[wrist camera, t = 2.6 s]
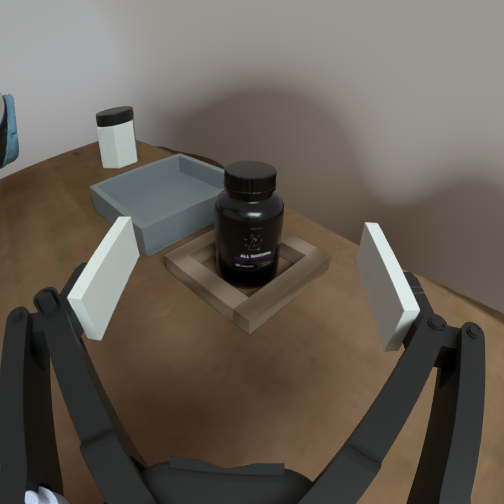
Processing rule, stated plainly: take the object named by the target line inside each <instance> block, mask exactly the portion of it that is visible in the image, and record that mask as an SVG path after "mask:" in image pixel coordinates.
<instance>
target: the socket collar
mask: <svg viewBox="0 0 504 504" xmlns="http://www.w3.org/2000/svg"><path fill="white" fill-rule="evenodd" d="M215 255H216V251H215V229H213V230H211V231H209V232H207V233H205V234H203V235H201V236H199V237H197V238H196V239H194V240H192V241H190V242H188V243H186V244H184V245H182V246H180V247H178V248H176V249H175V250H173V251H171V252H169V253H167V254H165V255H164V258H165V263H166V269H167V270H168V271H169V272H171V273H172V274H173V275H174V276H175V277H177V278H178V279H179V280H180V281H181V282H183V283H184V284H185V285H186V286H187V287H189V288H190V289H191V290H192V291H194V292H195V293H196V294H197V295H198V296H200V297H201V298H202V299H203V300H205V301H206V302H207V303H208V304H210V305H211V306H212V307H213V308H215V309H216V310H217V311H218V312H220V313H221V314H222V315H223V316H225V317H226V318H227V319H229V320H230V321H231V322H232V323H234V324H235V325H236V326H238V327H239V328H240V329H242V330H243V331H244V332H245V333H247V334H248V335H250V334H251V333H252V332H254V331H255V330H256V329H257V328H259V327H260V326H261V325H262V324H264V323H265V322H266V321H267V320H269V319H270V318H271V317H272V316H273V315H275V314H276V313H277V312H278V311H280V310H281V309H282V308H283V307H284V306H286V305H287V304H288V303H289V302H290V301H292V300H293V299H294V298H295V297H296V296H297V295H299V294H300V293H301V292H302V291H303V290H305V289H306V288H307V287H308V286H309V285H310V284H312V283H313V282H314V281H315V280H316V279H317V278H318V277H320V276H321V275H322V274H323V273H324V272H325V271H326V270H328V267H329V263H330V258H331V255H330V254H328V253H326V252H324V251H322V250H320V249H318V248H316V247H314V246H312V245H310V244H308V243H307V242H305V241H303V240H301V239H299V238H297V237H295V236H293V235H291V234H289V233H287V232H285V231H283V230H282V236H281V245H280V254H279V255H280V256H281V257H283V258H285V259H287V260H289V261H290V262H292V263H294V265H293V266H291V267H290V268H289V269H287V270H286V271H285V272H283V273H282V274H281V275H279V276H278V277H277V278H275V279H274V280H272V281H271V282H270V283H268V284H267V285H266V286H264V287H263V288H262V289H260V290H259V291H257V292H256V293H255V294H253V295H252V296H251V297H249V298H248V297H247V296H246V295H244V294H243V293H241V292H240V291H238V290H237V289H236V288H234V287H233V286H231V285H230V284H228V283H227V282H226V281H224V280H223V279H221V278H220V277H219V276H217V275H216V274H214V273H213V272H212V271H210V270H209V269H207V268H206V267H205V266H203V265H202V264H201V263H203V262H204V261H206V260H208V259H210V258H211V257H213V256H215Z"/></svg>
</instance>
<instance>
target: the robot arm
mask: <svg viewBox="0 0 504 504" xmlns="http://www.w3.org/2000/svg"><path fill="white" fill-rule="evenodd" d="M18 154H19V145H18V137H17V127H16V117H15V107H14V99H13V96H12V95H10V94H8V95H1V93H0V169H1V168H3V167H4V166H5V165H7V164H9V163H11V162H13V161H15V160H16V159H17V157H18ZM138 257H139V251H138V247H137V243H136V238H135V234H134V230H133V225H132V220H131V217H118V219H117V220H116V222H115V223H114V225H113V226H112V227H111V229H110V230H109V232H108V233H107V235H106V236H105V238H104V239H103V241H102V242H101V244H100V245H99V247H98V248H97V250H96V251H95V253H94V254H93V256H92V257H91V259H90V261H89V262H88V263H82V264H81V265H80V266H78V267H77V268H76V269H75V271H74V272H73V274H72V275H71V277H70V278H69V280H68V283H66V285H65V286H64V288H63V290H62V291H61V293H60V295H59V294H58V292H57V290H56V289H55V288H52V287H48V288H44V289H42V290H41V291H39V292H38V293H37V294H36V295H35V297H34V299H33V303H34V305H35V307H36V309H37V311H38V312H36V313H29V312H28V310H27V309H26V308H25V307H17V308H15V309H14V310H12V311H11V312H10V314H9V315H8V318H7V322H6V329H5V335H4V342H3V350H2V359H1V369H0V466H1V469H0V504H70V503H69V502H68V501H67V499H66V498H65V497H64V495H63V482H62V476H61V470H60V465H59V459H58V453H57V446H56V439H55V431H54V422H53V412H52V399H51V381H50V357H51V360H52V364H53V367H54V370H55V373H56V377H57V380H58V383H59V386H60V389H61V392H62V395H63V398H64V400H65V403H66V406H67V409H68V411H69V414H70V416H71V419H72V422H73V424H74V426H75V429H76V431H77V434H78V436H79V438H80V441H81V446H80V451H81V453H82V456H83V458H84V460H85V462H86V464H87V466H88V468H89V470H90V473H91V474H92V476H93V478H94V480H95V482H96V484H97V486H98V488H99V490H100V492H101V493H102V495H103V497H104V499H105V501H106V502H105V503H103V504H356V503H357V501H358V500H359V499H360V497H361V496H362V495H363V493H364V492H365V490H366V489H367V488H368V486H369V485H370V483H371V482H372V481H373V479H374V478H375V476H376V475H377V473H378V472H379V470H380V468H381V463H382V461H383V459H384V457H385V456H386V454H387V452H388V451H389V449H390V448H391V446H392V444H393V443H394V441H395V439H396V438H397V436H398V434H399V433H400V431H401V429H402V427H403V426H404V424H405V422H406V420H407V418H408V416H409V415H410V413H411V411H412V409H413V407H414V405H415V403H416V401H417V399H418V397H419V395H420V393H421V391H422V389H423V387H424V385H425V383H426V381H427V378H428V376H429V374H430V372H431V370H432V367H438V369H437V377H436V384H435V390H434V397H433V402H432V408H431V413H430V418H429V423H428V428H427V432H426V437H425V441H424V445H423V449H422V453H421V457H420V460H419V464H418V467H417V471H416V474H415V478H414V481H413V484H412V487H411V490H410V493H409V497H408V500H407V503H406V504H471V500H470V496H471V492H472V488H473V483H474V478H475V473H476V468H477V462H478V456H479V449H480V442H481V434H482V424H483V413H484V397H485V337H484V332H483V331H482V329H481V328H480V327H479V326H478V325H477V324H475V323H473V322H466V323H465V324H464V325H463V326H462V327H461V329H460V328H456V327H451V326H448V325H447V323H446V321H445V320H444V319H443V318H442V317H441V316H439V315H437V314H434V312H433V310H432V308H431V306H430V303H429V301H428V299H427V297H426V295H425V294H424V291H423V289H422V288H421V285H420V283H419V281H418V279H417V278H416V277H415V276H414V275H413V274H412V273H411V272H402V270H401V268H400V265H399V264H398V261H397V260H396V257H395V255H394V253H393V252H392V250H391V248H390V246H389V244H388V242H387V240H386V238H385V236H384V235H383V232H382V231H381V229H380V227H379V225H378V223H365V225H364V230H363V234H362V238H361V242H360V246H359V250H358V254H357V258H356V264H357V267H358V270H359V273H360V276H361V279H362V282H363V285H364V288H365V291H366V294H367V297H368V300H369V303H370V306H371V310H372V313H373V316H374V319H375V323H376V326H377V329H378V333H379V336H380V340H381V343H382V347H383V350H384V352H386V351H398V350H399V348H400V347H401V345H402V343H403V344H404V348H405V351H404V352H403V354H402V356H401V357H400V359H399V361H398V362H397V365H396V366H395V368H394V370H393V372H392V373H391V375H390V377H389V378H388V380H387V382H386V383H385V385H384V386H383V388H382V390H381V391H380V393H379V394H378V396H377V398H376V399H375V401H374V402H373V404H372V405H371V407H370V408H369V410H368V411H367V413H366V414H365V416H364V417H363V418H362V420H361V421H360V423H359V424H358V426H357V427H356V428H355V430H354V431H353V433H352V434H351V435H350V437H349V438H348V439H347V441H346V442H345V443H344V445H343V446H342V447H341V449H340V450H339V451H338V453H337V454H336V455H335V456H334V458H333V459H332V460H331V461H330V463H329V464H328V465H327V466H326V467H325V468H324V470H323V471H322V472H321V473H320V474H319V475H318V477H317V478H316V479H315V480H314V481H313V482H312V481H311V480H309V479H308V478H307V477H305V476H304V475H302V474H300V473H298V472H295V471H292V470H289V469H285V468H284V463H281V464H263V463H256V464H251V465H245V466H240V467H234V468H222V467H219V466H216V465H213V464H210V463H207V462H204V461H201V460H198V459H189V458H181V457H174V456H171V459H170V461H167V462H162V463H159V464H156V465H153V466H151V467H148V465H147V464H146V462H145V461H144V460H143V458H142V457H141V456H140V454H139V453H138V451H137V450H136V448H135V447H134V445H133V443H132V441H131V440H130V438H129V436H128V434H127V433H126V431H125V429H124V427H123V425H122V424H121V422H120V420H119V418H118V416H117V414H116V412H115V410H114V408H113V406H112V404H111V402H110V400H109V398H108V396H107V394H106V392H105V390H104V388H103V386H102V384H101V382H100V379H99V377H98V375H97V373H96V371H95V368H94V366H93V364H92V361H91V359H90V357H89V354H88V352H87V349H86V347H85V344H84V342H83V340H82V338H81V336H82V334H83V331H84V332H85V334H86V336H87V338H88V339H95V340H102V337H103V335H104V332H105V330H106V328H107V325H108V323H109V321H110V318H111V316H112V314H113V311H114V309H115V307H116V305H117V302H118V300H119V298H120V296H121V293H122V291H123V289H124V287H125V285H126V283H127V280H128V278H129V276H130V274H131V272H132V270H133V268H134V266H135V264H136V262H137V259H138Z"/></svg>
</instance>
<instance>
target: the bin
mask: <svg viewBox="0 0 504 504" xmlns="http://www.w3.org/2000/svg"><path fill="white" fill-rule="evenodd" d="M223 181H224V170H223V169H220V168H218V167H215V166H213V165H210V164H207V163H205V162H202V161H199V160H197V159H194V158H191V157H188V156H186V155H183V154H177V155H174V156H171V157H168V158H165V159H162V160H159V161H156V162H153V163H150V164H147V165H144V166H142V167H139V168H136V169H133V170H131V171H128V172H125V173H123V174H120V175H117V176H115V177H112V178H110V179H107V180H105V181H102V182H100V183H97V184H95V185H92V186H90V191H91V196H92V200H93V204H94V208H95V209H96V210H97V211H98V212H99V213H100V214H101V215H102V216H103V217H104V218H105V219H106V220H107V221H108V222H109V223H110V224H111V225H112V226H113V225H114V223H115V222H116V220H117V219H118V217H131V220H132V225H133V230H134V234H135V238H136V243H137V247H138V249H139V250H140V251H141V252H142V253H143V254H144V255H145V256H146V257H149V256H151V255H153V254H155V253H157V252H159V251H161V250H163V249H165V248H166V247H168V246H170V245H172V244H174V243H176V242H178V241H180V240H182V239H184V238H186V237H188V236H190V235H192V234H194V233H196V232H198V231H200V230H202V229H204V228H206V227H208V226H210V225H212V224H214V202H215V199H216V197H217V196H218V194H219V193H220V192H221V191H223V190H224V186H223Z"/></svg>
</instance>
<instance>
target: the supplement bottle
mask: <svg viewBox="0 0 504 504" xmlns="http://www.w3.org/2000/svg"><path fill="white" fill-rule="evenodd" d="M276 174H277V171H276V168H275V167H274V166H272V165H270V164H269V163H266V162H262V161H256V160H255V161H254V160H242V161H235V162H232V163H230V164H228V165H227V166H226V167H225V169H224V181H223V186H224V190H223V191H221V192H220V193H219V194H218V196H217V197H216V199H215V202H214V225H215V251H216V267H217V272H218V274H219V276H220V277H221V278H222V279H223V280H224V281H226V282H227V283H228V284H230V285H232V286H235V287H239V288H257V287H260V286H263V285H265V284H267V283H269V282H270V281H271V280H272V279H273V278H274V277H275V275H276V273H277V269H278V263H279V254H280V245H281V236H282V226H283V216H284V203H283V200H282V198H281V197H280V196H279V194H278V193H277V192H276V191H275V190H276Z"/></svg>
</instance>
